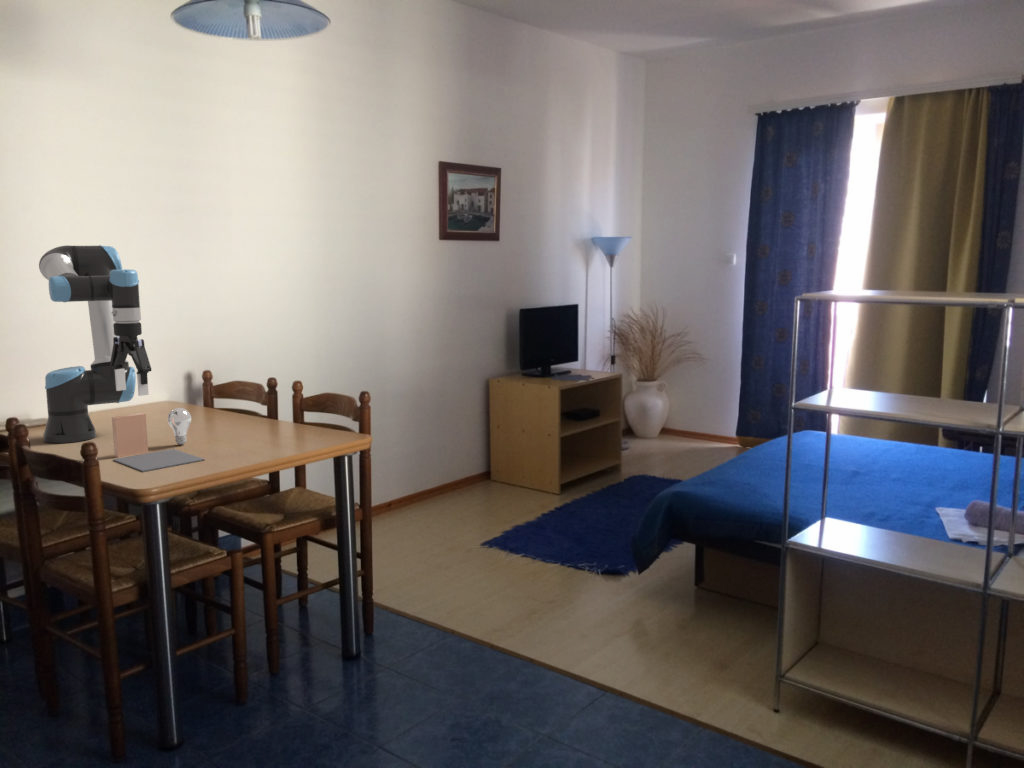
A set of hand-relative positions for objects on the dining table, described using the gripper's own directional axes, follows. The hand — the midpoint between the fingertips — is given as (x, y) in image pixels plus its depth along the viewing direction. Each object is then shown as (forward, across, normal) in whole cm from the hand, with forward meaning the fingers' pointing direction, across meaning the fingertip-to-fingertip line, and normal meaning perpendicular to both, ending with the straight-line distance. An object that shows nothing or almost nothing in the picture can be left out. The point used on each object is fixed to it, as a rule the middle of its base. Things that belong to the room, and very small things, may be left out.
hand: (132, 392), depth 246 cm
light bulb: (+19, -1, +15) cm, 24 cm away
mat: (+19, +13, 0) cm, 23 cm away
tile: (+19, -1, -1) cm, 19 cm away
